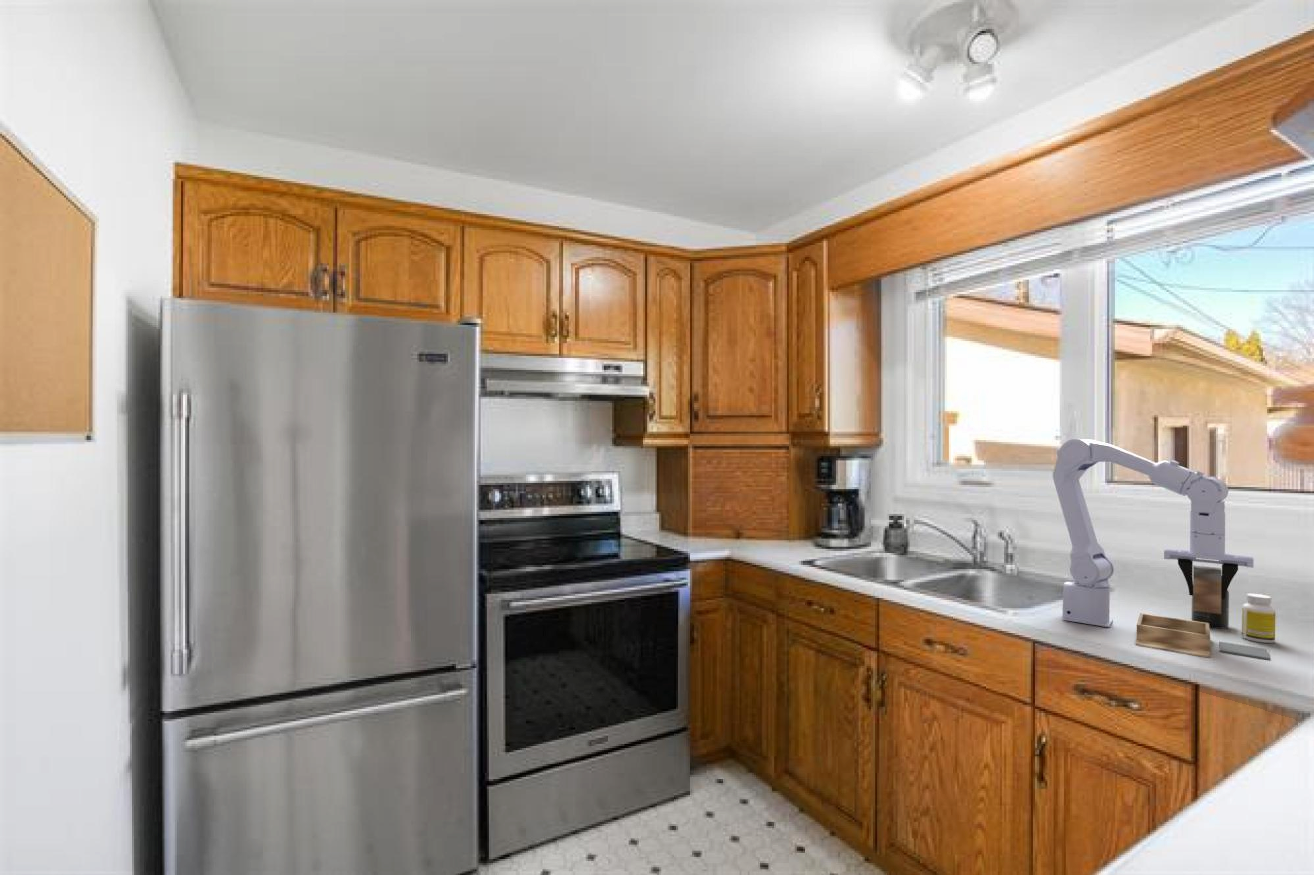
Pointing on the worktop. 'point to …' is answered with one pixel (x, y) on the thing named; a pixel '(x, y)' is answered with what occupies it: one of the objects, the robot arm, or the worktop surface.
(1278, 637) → the worktop surface
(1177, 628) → the wooden tray
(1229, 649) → the pad
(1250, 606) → the supplement bottle
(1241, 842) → the worktop surface
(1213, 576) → the block
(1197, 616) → the supplement bottle
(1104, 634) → the worktop surface
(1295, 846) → the worktop surface
